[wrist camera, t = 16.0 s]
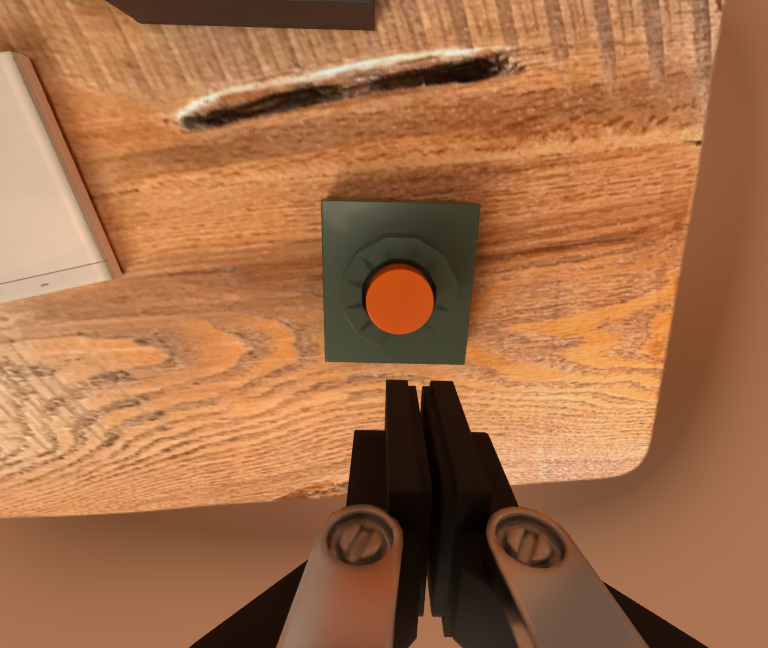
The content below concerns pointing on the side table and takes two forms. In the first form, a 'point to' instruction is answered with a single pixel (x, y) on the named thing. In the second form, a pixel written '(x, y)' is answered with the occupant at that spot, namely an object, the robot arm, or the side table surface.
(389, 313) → the button
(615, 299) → the side table surface
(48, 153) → the hard drive
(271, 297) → the side table surface
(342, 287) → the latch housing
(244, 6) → the black open rectangular tray
